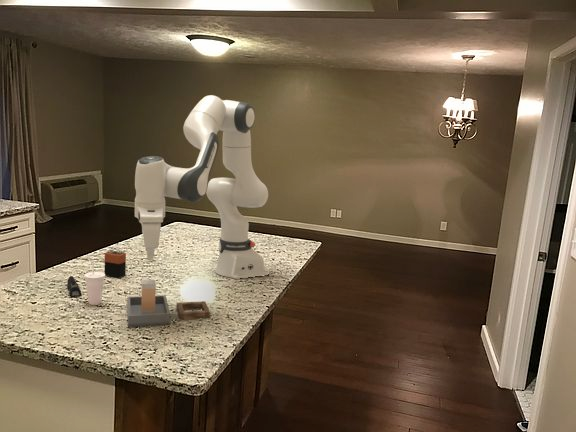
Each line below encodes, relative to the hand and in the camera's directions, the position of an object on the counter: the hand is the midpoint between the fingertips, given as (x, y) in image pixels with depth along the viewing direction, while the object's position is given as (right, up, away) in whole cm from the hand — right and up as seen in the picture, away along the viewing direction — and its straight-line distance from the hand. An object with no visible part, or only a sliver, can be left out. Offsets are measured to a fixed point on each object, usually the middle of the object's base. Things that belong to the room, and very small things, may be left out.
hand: (149, 255), depth 149 cm
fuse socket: (+12, -19, +8) cm, 24 cm away
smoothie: (-21, -17, +10) cm, 29 cm away
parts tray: (-2, -19, +3) cm, 20 cm away
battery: (-24, -11, +38) cm, 47 cm away
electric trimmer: (-32, -14, +20) cm, 41 cm away
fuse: (-1, -18, +3) cm, 19 cm away
